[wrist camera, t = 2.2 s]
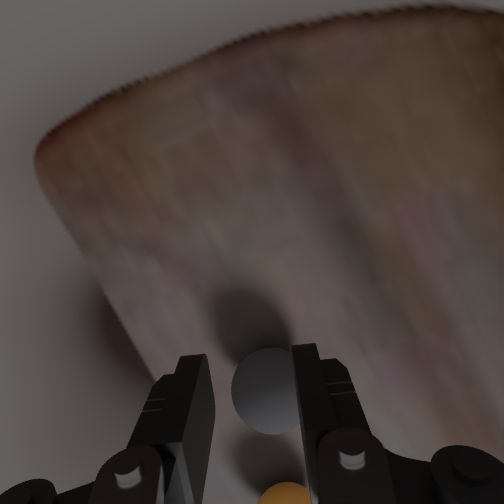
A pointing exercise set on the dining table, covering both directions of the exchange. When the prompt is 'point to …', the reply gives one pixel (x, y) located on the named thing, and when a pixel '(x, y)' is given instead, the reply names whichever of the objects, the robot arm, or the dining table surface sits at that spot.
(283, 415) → the dark gray ball
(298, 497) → the orange ball
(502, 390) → the dining table surface
